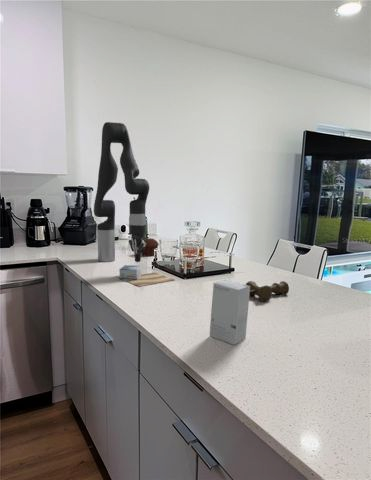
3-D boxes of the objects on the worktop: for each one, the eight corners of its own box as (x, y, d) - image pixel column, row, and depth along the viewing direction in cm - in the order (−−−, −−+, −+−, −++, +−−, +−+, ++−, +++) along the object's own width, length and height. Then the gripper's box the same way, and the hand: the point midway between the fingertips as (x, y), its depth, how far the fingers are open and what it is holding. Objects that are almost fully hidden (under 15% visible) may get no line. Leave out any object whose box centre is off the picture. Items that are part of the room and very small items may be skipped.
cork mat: (120, 278, 145) (120, 277, 145) (154, 272, 157) (154, 272, 157) (139, 287, 133) (139, 286, 133) (175, 280, 144) (175, 279, 144)
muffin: (143, 257, 193) (143, 240, 192) (136, 254, 203) (136, 238, 201) (162, 255, 199) (162, 239, 197) (154, 252, 208) (154, 237, 207)
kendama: (294, 298, 124) (251, 304, 115) (276, 292, 132) (235, 297, 123) (295, 282, 123) (252, 287, 114) (277, 277, 132) (236, 281, 123)
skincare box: (209, 336, 88) (210, 282, 86) (221, 329, 93) (223, 278, 91) (236, 346, 83) (238, 289, 81) (248, 338, 88) (250, 284, 85)
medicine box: (141, 265, 151) (137, 269, 142) (141, 275, 151) (137, 279, 143) (124, 265, 151) (119, 269, 143) (124, 274, 152) (119, 279, 143)
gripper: (122, 222, 151) (123, 260, 153) (137, 225, 141) (137, 265, 143) (137, 222, 155) (137, 258, 158) (152, 224, 145) (152, 263, 148)
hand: (137, 261), depth 150 cm, fingers closed
